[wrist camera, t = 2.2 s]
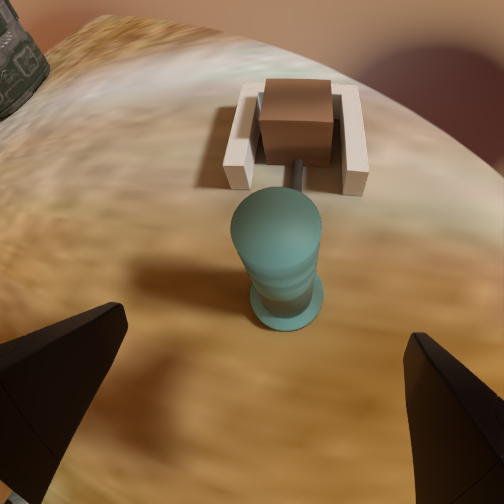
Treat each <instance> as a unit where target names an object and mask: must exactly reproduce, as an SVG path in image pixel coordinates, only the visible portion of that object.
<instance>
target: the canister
mask: <svg viewBox="0 0 504 504" xmlns="http://www.w3.org/2000/svg"><path fill="white" fill-rule="evenodd" d="M18 18H19V17H18V15H17V13H16V12H15V10H14V8H13V7H12V5H11V3H10V2H9V0H0V118H2V117H4V116H6V115H8V114H10V113H11V114H12V113H14V112H15V111H16V110H17V109H18V108H19V107H21V106H22V105H23V104H24V103H25V102H26V101H27V100H28V99H29V98H30V97H31V96H32V95H33V92H34V91H35V90H36V88H37V87H38V86H39V85H40V84H41V82H42V81H43V79H44V80H45V79H46V77H47V76H48V74H49V71H50V67H49V64H48V62H46V58H45V57H44V55H43V54H42V52H41V51H40V49H39V48H38V46H37V45H36V43H35V42H34V40H33V38H32V37H31V36H30V34H29V33H28V32H25V30H24V29H23V27H22V25H21V24H20V22H19V21H18Z"/></svg>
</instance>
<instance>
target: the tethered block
mask: <svg viewBox="0 0 504 504" xmlns="http://www.w3.org/2000/svg"><path fill="white" fill-rule="evenodd" d="M259 124H260V129H261V135H262V140H263V146H264V152H265V158H266V163H267V165H292V178H291V188H286V187H269V188H265V189H261V190H258V191H256V192H254V193H252V194H251V195H249V196H248V197H247V198H245V199H244V200H243V201H242V202H241V203H240V204H239V206H238V207H237V209H236V210H235V212H234V214H233V217H232V221H231V227H230V229H231V238H232V241H233V244H234V246H235V248H236V250H237V252H238V254H239V256H240V258H241V260H242V262H243V264H244V266H245V268H246V270H247V272H248V275H249V277H250V279H251V281H252V285H251V288H250V302H251V306H252V308H253V310H254V312H255V314H256V315H257V317H258V318H259V320H260V321H261V322H262V323H264V324H265V325H266V326H268V327H269V328H271V329H274V330H277V331H282V332H291V331H296V330H299V329H302V328H304V327H305V326H307V325H308V324H310V323H311V322H312V321H313V320H314V319H315V317H316V316H317V314H318V313H319V310H320V308H321V305H322V301H323V286H322V283H321V280H320V278H319V276H318V275H317V273H316V267H317V260H318V253H319V245H320V238H321V229H322V222H321V217H320V214H319V211H318V209H317V207H316V206H315V204H314V203H313V202H312V201H311V200H310V199H309V198H308V197H307V196H306V195H304V194H302V193H301V189H302V172H303V166H313V167H330V157H331V146H332V134H333V106H332V91H331V80H316V79H266V83H265V89H264V94H263V100H262V105H261V111H260V116H259Z"/></svg>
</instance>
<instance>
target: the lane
mask: <svg viewBox="0 0 504 504" xmlns="http://www.w3.org/2000/svg"><path fill="white" fill-rule="evenodd" d="M265 83H266V82H259V83H243V86H242V90H241V94H240V97H239V101H238V105H237V109H236V113H235V117H234V121H233V125H232V129H231V133H230V137H229V141H228V145H227V149H226V154H225V158H224V162H223V168H224V171H225V174H226V176H227V179H228V182H229V185H230V187H231V189H240V190H250V188H251V182H252V176H253V170H254V164H255V158H256V152H257V145H258V140H259V134H260V124H259V116H260V111H261V105H262V100H263V94H264V89H265ZM331 91H332V106H333V119H338V120H339V121H340V136H341V155H342V185H343V195H355V196H362V195H363V192H364V188H365V185H366V181H367V177H368V174H369V168H368V158H367V149H366V140H365V132H364V125H363V118H362V111H361V104H360V98H359V92H358V87H357V86H353V85H341V84H331Z"/></svg>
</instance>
